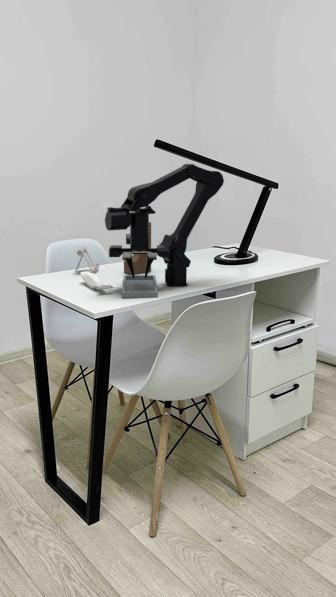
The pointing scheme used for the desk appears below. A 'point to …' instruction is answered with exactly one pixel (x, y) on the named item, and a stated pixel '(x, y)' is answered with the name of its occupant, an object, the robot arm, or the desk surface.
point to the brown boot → (139, 260)
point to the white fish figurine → (94, 281)
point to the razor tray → (139, 286)
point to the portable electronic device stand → (81, 253)
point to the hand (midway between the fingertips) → (139, 278)
